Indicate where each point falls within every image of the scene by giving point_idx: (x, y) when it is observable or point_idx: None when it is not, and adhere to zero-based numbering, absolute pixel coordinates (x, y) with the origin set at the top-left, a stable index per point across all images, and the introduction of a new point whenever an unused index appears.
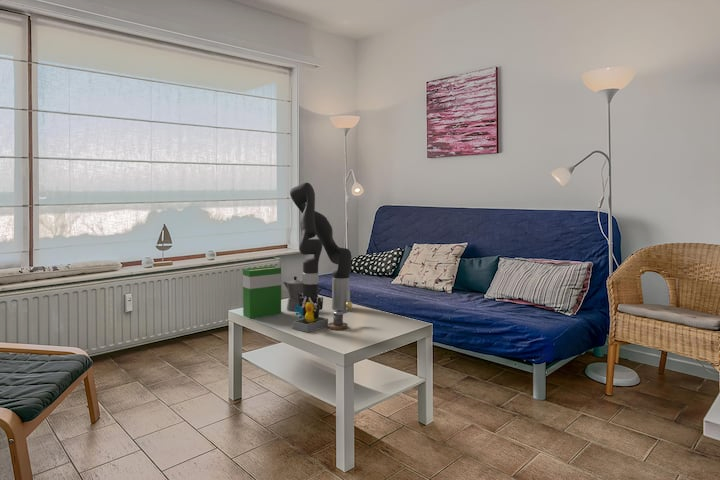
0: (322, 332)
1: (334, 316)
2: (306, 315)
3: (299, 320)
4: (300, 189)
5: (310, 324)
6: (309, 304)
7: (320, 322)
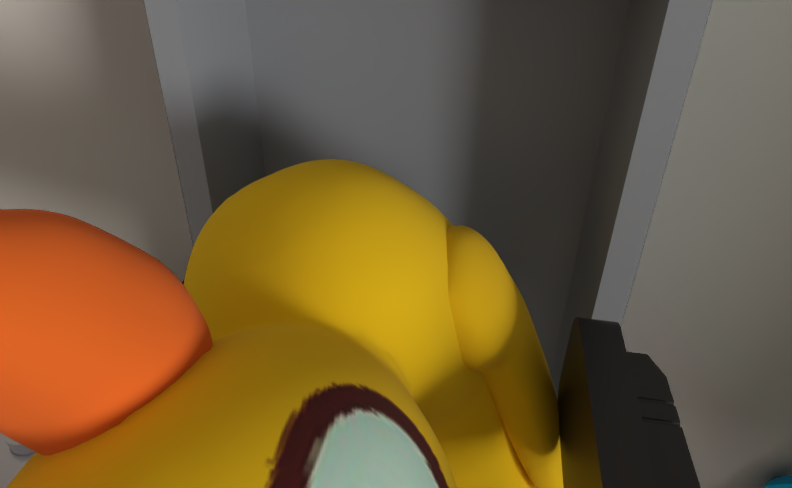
0: (65, 98)
1: None
2: (317, 205)
3: (626, 155)
4: None
5: (158, 36)
6: None
7: None
